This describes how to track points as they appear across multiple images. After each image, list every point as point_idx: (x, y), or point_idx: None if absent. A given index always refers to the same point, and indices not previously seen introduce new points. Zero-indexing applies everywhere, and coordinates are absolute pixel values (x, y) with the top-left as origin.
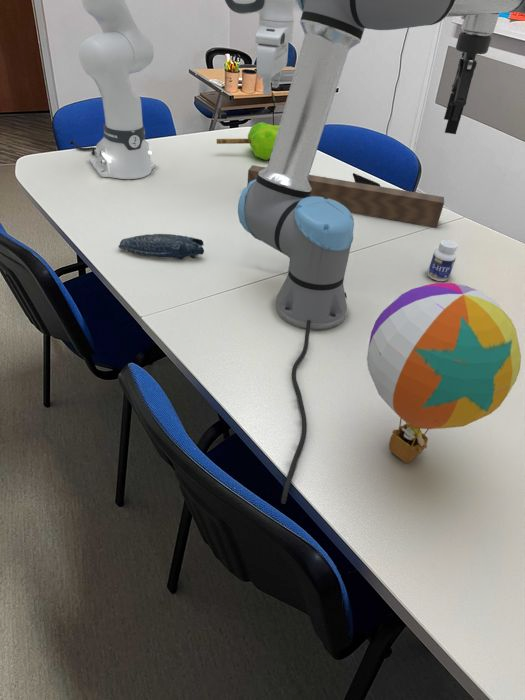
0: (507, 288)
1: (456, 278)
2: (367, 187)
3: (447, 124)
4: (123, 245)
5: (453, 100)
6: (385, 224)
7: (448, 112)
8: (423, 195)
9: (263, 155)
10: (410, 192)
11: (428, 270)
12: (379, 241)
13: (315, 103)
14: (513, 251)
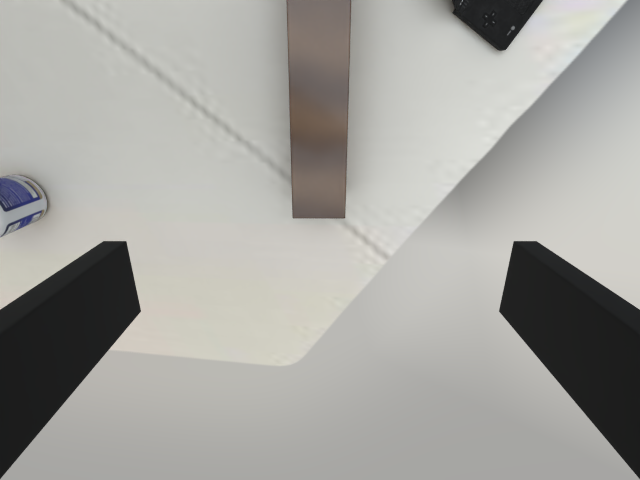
0: None
1: (47, 237)
2: None
3: (66, 270)
4: None
5: (617, 372)
6: (252, 44)
7: (541, 286)
8: (328, 151)
9: None
10: (337, 103)
11: (4, 176)
12: (125, 35)
13: None
14: (249, 353)
